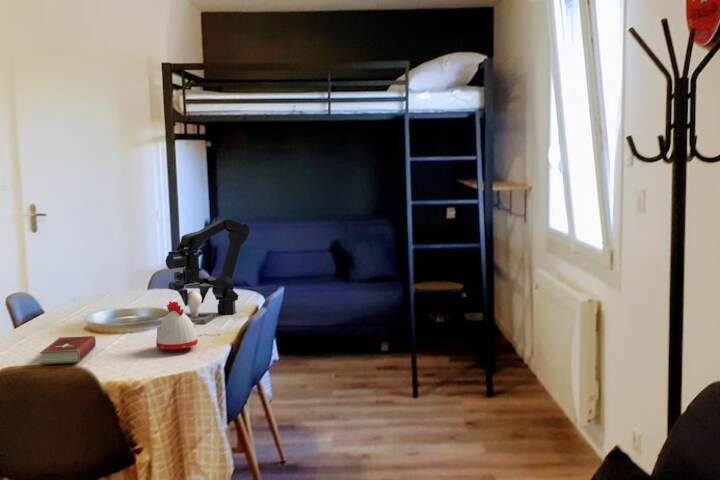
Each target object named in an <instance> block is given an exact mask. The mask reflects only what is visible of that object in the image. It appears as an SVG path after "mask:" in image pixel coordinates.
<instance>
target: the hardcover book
mask: <svg viewBox="0 0 720 480" xmlns="http://www.w3.org/2000/svg"><path fill="white" fill-rule="evenodd" d="M96 340H97V339H96V336H95V335H85V336H84V335H83V336H82V335H81V336H66V337H65V336H63V337H58V338H57V339H56V340H54V341H53V342H52V343H51V344H49V345H48V346H46V347H45V348H44V349H42V350H41V351H40V352H39V354H41V357H42V358H41V359H42V360H41V363H40V365H53V364H54V365H57V364H70V363H71V364H72V363H80V362H81V361H82V360H83V359H84V358H85V357H86V356H87V355H88V354H89V353H90V352H91V351H92V350H93V349H94V348H95V347H96V345H97V341H96Z"/></svg>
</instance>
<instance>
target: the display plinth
mask: <svg viewBox="0 0 720 480" xmlns="http://www.w3.org/2000/svg"><path fill="white" fill-rule="evenodd" d="M185 314H186V315H187V316H188V317H189V319H190V320H191V321H192V323H195V325H207V324H208V323H210V322H211V321H214V319H216V318H218V314H217V315H216V314H215V313H198V316H197V317H196V318H193V317H191V313H185Z"/></svg>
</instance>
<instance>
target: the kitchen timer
mask: <svg viewBox="0 0 720 480" xmlns="http://www.w3.org/2000/svg"><path fill="white" fill-rule="evenodd" d="M166 307H167V310H168V311H167V312H168V313H167V314H166V315H165V316H164V318H163V319H162V320H161V322H160V324H159V326H158V327H157V328H156V338H155V339H156V342H155V344H156V348H158V349H163V350H182V349H186V348H190V347H194V346H197V345H198V334H197V330H196V324H195V323H192V321H191V320H190V319H189V317H188V316H187V315H186V314H187V313H184V308H183V309H182V306H181V304H180V305H179V303H178V301H174V300H173V301H169V303H168V304H166Z"/></svg>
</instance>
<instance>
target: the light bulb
mask: <svg viewBox="0 0 720 480" xmlns="http://www.w3.org/2000/svg"><path fill="white" fill-rule="evenodd" d="M201 302H202V297H201V294H200V291H199V292H198V291H197V290H191V291H188V303H187V306H188V308H189V313H190V314H191V317H193V318H196V317H197V316H198V314H199V308H200V305H201V304H202V303H201Z"/></svg>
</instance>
